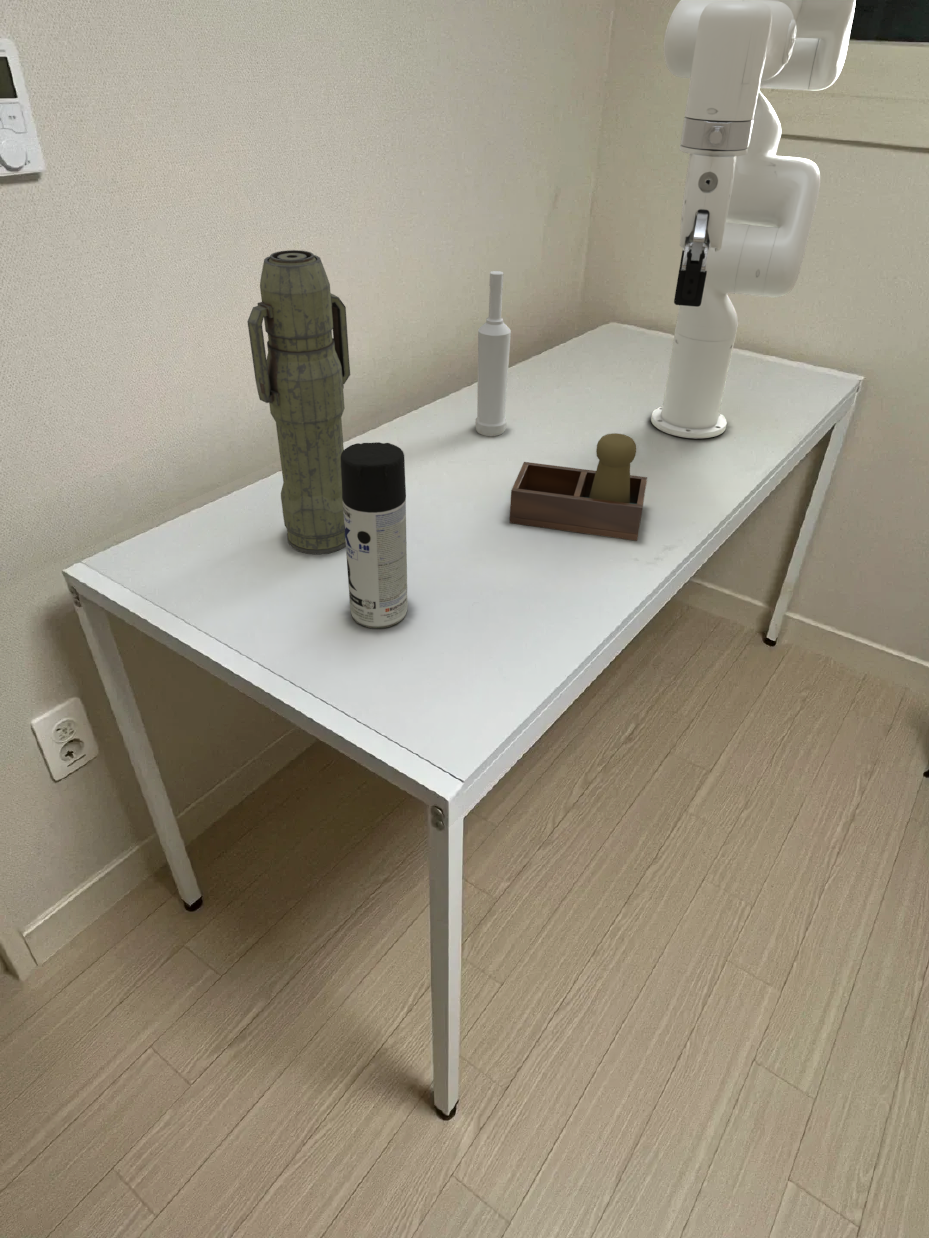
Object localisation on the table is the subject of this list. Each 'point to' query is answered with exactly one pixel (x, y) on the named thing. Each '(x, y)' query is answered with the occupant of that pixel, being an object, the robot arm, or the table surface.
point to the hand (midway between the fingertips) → (688, 294)
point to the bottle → (493, 364)
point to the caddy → (573, 502)
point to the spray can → (375, 532)
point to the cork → (613, 468)
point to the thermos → (304, 392)
